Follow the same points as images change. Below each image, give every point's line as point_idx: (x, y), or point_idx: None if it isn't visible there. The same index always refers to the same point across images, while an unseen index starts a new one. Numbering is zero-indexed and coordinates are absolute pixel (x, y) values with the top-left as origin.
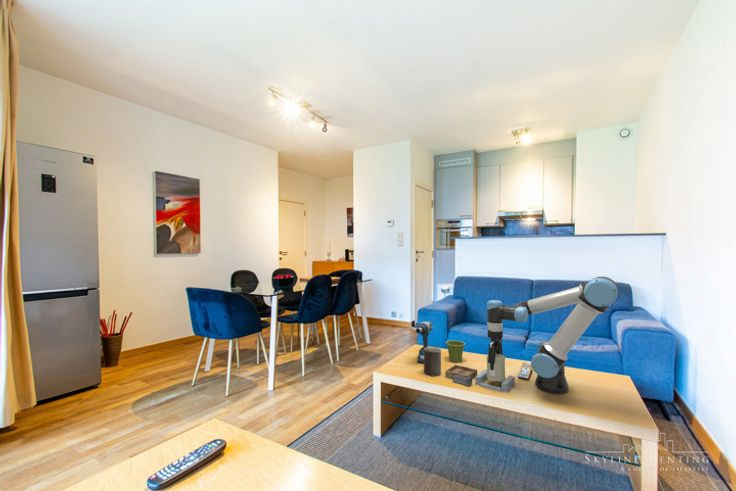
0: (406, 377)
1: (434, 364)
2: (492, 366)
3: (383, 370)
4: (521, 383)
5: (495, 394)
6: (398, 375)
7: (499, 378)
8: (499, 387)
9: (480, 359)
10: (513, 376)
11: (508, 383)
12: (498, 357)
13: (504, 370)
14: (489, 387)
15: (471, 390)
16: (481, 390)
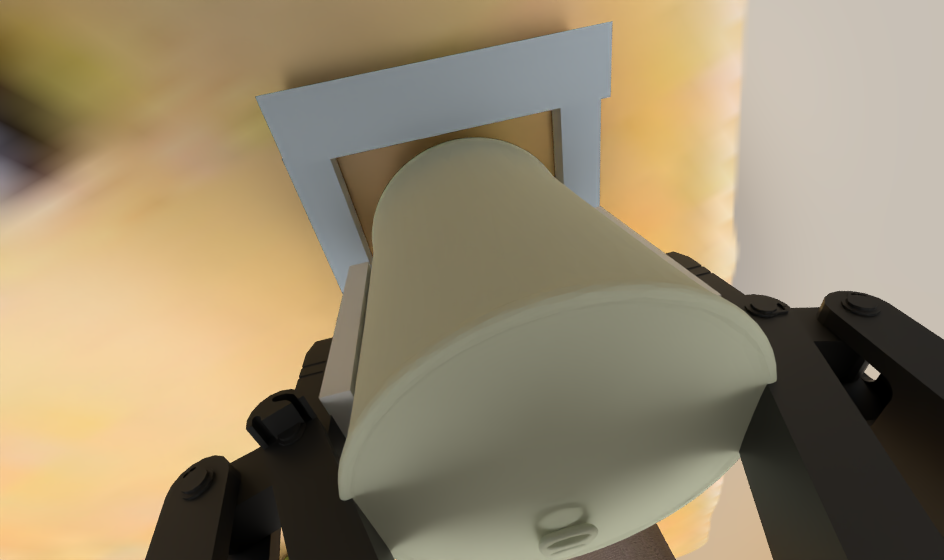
0: (703, 493)
1: (659, 538)
2: (722, 285)
3: (682, 552)
4: (174, 37)
5: (675, 91)
6: (699, 513)
7: (546, 170)
8: (565, 125)
9: (117, 544)
10: (267, 110)
11: (536, 37)
12: (638, 389)
13: (474, 176)
14: (594, 200)
15: (697, 258)
16: (659, 216)
